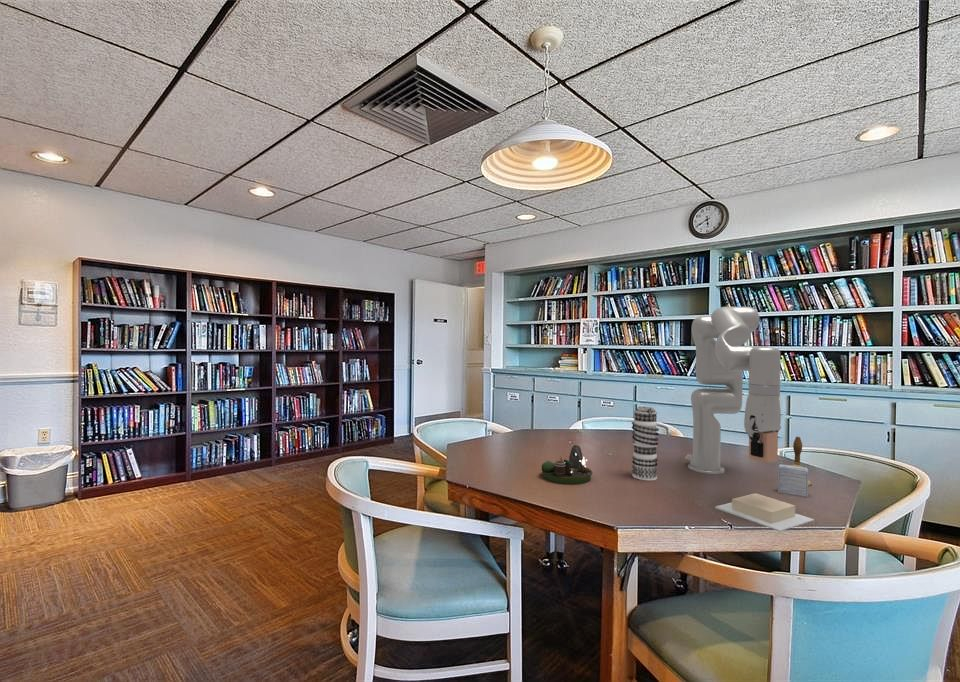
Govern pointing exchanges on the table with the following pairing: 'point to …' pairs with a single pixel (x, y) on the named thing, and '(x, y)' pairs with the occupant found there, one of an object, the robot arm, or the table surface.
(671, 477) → the table surface
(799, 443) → the hand bell
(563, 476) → the toy scene
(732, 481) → the table surface
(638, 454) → the black white tall cylinder
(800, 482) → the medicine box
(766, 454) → the terracotta block
